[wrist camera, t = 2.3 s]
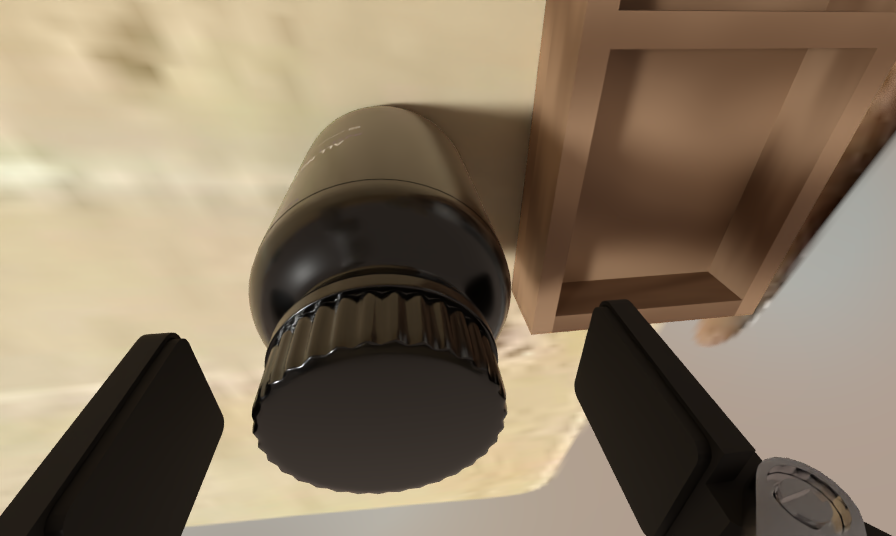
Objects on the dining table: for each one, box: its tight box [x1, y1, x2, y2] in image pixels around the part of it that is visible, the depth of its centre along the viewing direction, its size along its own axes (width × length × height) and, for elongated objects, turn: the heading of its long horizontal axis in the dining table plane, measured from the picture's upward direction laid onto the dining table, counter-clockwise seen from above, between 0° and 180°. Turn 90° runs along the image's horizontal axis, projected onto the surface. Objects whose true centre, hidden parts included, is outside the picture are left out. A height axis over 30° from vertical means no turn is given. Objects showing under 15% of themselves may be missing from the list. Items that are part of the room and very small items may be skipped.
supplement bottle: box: [249, 106, 511, 494], centre depth 12 cm, size 7×7×12 cm
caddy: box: [512, 0, 896, 335], centre depth 14 cm, size 24×12×4 cm, turn 0°
